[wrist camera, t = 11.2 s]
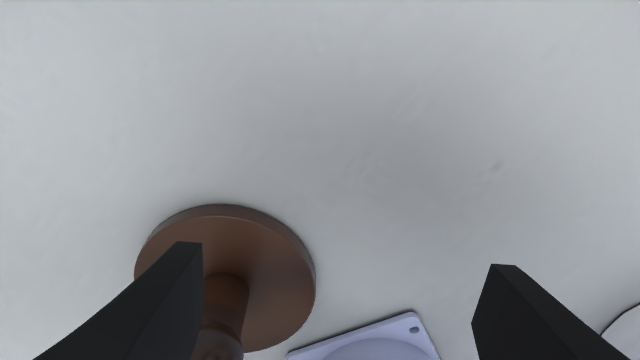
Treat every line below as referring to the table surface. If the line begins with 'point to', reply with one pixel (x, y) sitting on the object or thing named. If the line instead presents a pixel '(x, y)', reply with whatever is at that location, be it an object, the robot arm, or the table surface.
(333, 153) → the table surface
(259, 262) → the knob on round base
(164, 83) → the table surface
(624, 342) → the cup
